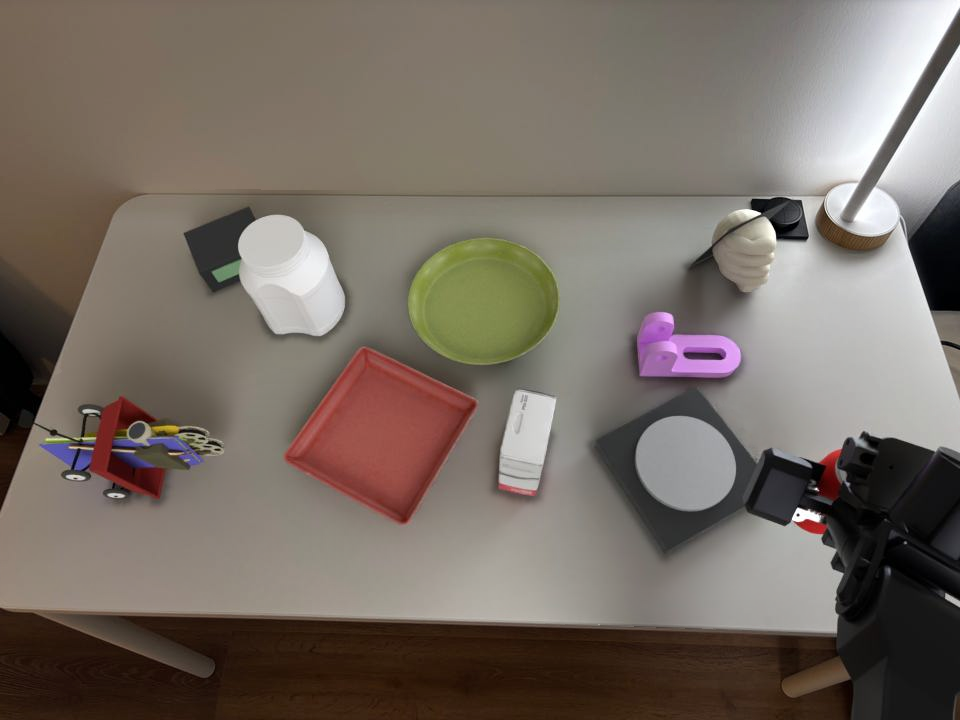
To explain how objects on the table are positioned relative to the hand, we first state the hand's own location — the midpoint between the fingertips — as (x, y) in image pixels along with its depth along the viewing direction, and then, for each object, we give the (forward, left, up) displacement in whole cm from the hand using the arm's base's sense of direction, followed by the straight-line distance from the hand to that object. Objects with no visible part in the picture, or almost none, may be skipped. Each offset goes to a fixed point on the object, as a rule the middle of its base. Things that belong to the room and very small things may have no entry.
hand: (839, 478), depth 66 cm
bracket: (+22, -1, -12) cm, 26 cm away
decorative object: (+30, -15, -12) cm, 36 cm away
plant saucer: (+31, +39, -12) cm, 51 cm away
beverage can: (-1, +1, -7) cm, 7 cm away
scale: (+10, +9, -12) cm, 18 cm away
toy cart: (+42, +66, -12) cm, 79 cm away
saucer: (+42, +19, -12) cm, 48 cm away
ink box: (+20, +25, -12) cm, 34 cm away
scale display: (+68, +47, -12) cm, 84 cm away
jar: (+55, +41, -12) cm, 70 cm away
